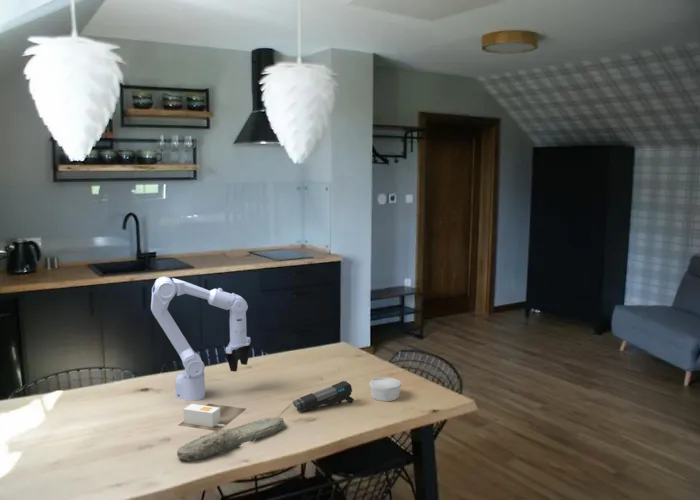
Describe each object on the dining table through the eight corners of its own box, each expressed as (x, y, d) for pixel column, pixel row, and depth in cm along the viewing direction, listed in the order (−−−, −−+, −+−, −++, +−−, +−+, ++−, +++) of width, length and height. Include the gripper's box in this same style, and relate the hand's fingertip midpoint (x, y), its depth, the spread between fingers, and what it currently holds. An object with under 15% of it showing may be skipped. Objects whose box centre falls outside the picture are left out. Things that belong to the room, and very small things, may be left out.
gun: (357, 402, 204) (348, 377, 201) (306, 431, 196) (296, 405, 194) (351, 397, 208) (342, 373, 205) (301, 426, 200) (291, 400, 198)
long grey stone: (292, 435, 183) (273, 426, 190) (292, 418, 183) (273, 410, 190) (188, 467, 159) (170, 456, 166) (187, 447, 159) (170, 437, 166)
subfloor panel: (178, 428, 183) (177, 424, 183) (208, 406, 201) (208, 403, 200) (218, 434, 179) (218, 431, 179) (246, 411, 196) (246, 408, 196)
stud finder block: (184, 423, 185) (183, 408, 184) (192, 417, 189) (191, 403, 188) (212, 427, 182) (212, 412, 181) (220, 421, 186) (219, 407, 185)
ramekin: (391, 389, 217) (391, 375, 217) (407, 399, 207) (407, 385, 207) (363, 394, 212) (363, 379, 212) (378, 405, 203) (378, 390, 202)
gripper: (238, 336, 201) (239, 375, 203) (257, 325, 215) (258, 362, 217) (219, 334, 204) (220, 373, 205) (240, 324, 217) (240, 360, 219)
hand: (238, 367), depth 211 cm, fingers open, 7 cm apart
